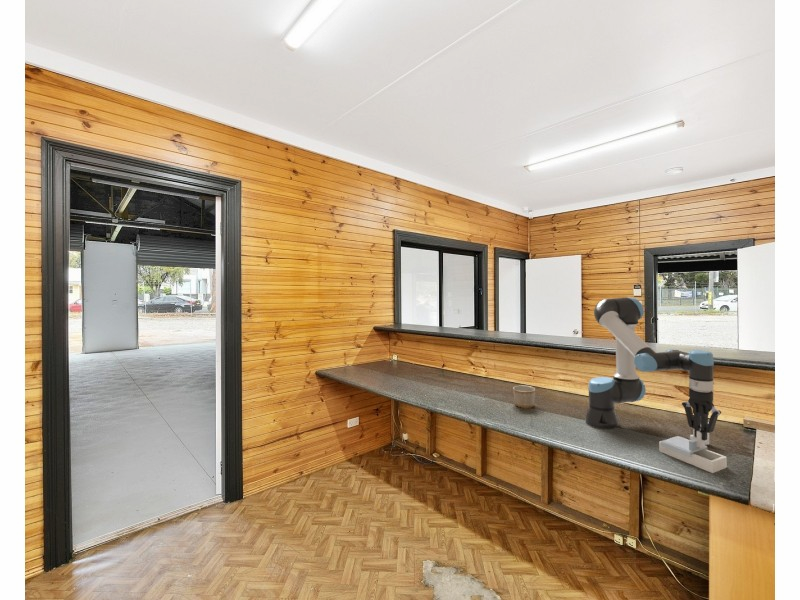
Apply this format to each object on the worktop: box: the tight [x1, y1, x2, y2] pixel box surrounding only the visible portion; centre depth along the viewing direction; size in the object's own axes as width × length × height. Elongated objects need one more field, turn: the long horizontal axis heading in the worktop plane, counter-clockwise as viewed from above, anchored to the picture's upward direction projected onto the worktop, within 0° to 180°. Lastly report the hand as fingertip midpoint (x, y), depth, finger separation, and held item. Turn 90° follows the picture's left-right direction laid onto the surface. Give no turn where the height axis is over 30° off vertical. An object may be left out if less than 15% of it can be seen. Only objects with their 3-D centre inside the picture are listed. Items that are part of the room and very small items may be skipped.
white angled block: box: [689, 421, 710, 446], centre depth 165 cm, size 4×10×9 cm
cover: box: [661, 435, 708, 457], centre depth 154 cm, size 11×11×6 cm
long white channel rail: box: [658, 436, 728, 474], centre depth 152 cm, size 20×9×4 cm, turn 22°
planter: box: [512, 384, 536, 409], centre depth 222 cm, size 13×13×10 cm
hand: (700, 446), depth 148 cm, fingers closed
